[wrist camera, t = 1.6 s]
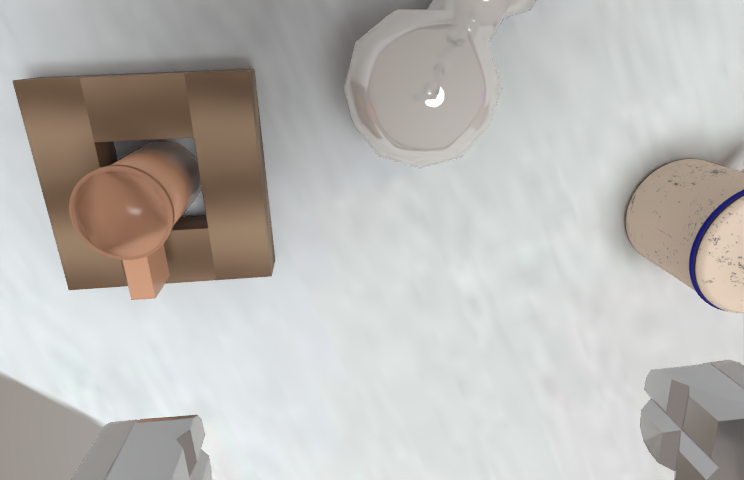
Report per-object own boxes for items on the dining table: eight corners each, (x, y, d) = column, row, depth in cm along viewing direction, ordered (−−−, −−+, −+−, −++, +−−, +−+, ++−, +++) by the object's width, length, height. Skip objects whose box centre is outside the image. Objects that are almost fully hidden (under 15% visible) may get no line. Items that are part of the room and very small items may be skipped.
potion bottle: (350, 138, 39) (463, -45, 37) (457, 207, 35) (588, 10, 33) (286, 96, 30) (429, -146, 28) (420, 182, 27) (593, -85, 25)
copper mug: (119, 140, 36) (57, 169, 28) (199, 136, 36) (162, 164, 28) (142, 249, 39) (93, 307, 31) (215, 245, 39) (187, 300, 31)
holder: (37, 77, 34) (12, 80, 31) (254, 68, 35) (248, 71, 32) (86, 272, 39) (68, 290, 36) (275, 259, 40) (271, 276, 37)
